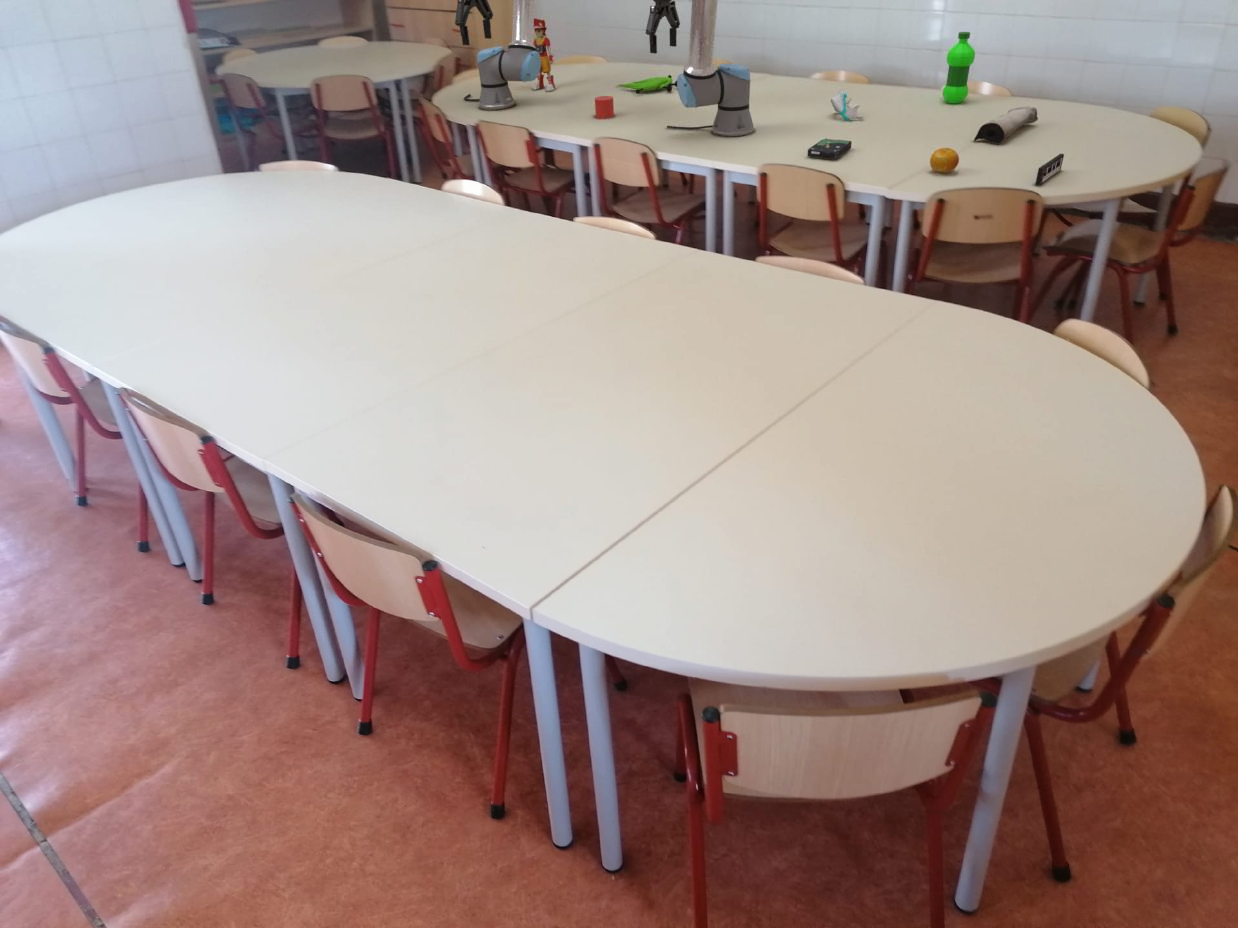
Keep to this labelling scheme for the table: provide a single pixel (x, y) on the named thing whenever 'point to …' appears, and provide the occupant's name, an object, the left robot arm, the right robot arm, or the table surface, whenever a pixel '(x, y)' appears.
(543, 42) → the toy
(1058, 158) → the midi keyboard
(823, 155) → the disk drive
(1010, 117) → the rolled mat
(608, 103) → the canister
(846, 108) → the anatomical model
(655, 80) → the toy
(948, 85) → the plastic bottle
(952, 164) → the fruit
